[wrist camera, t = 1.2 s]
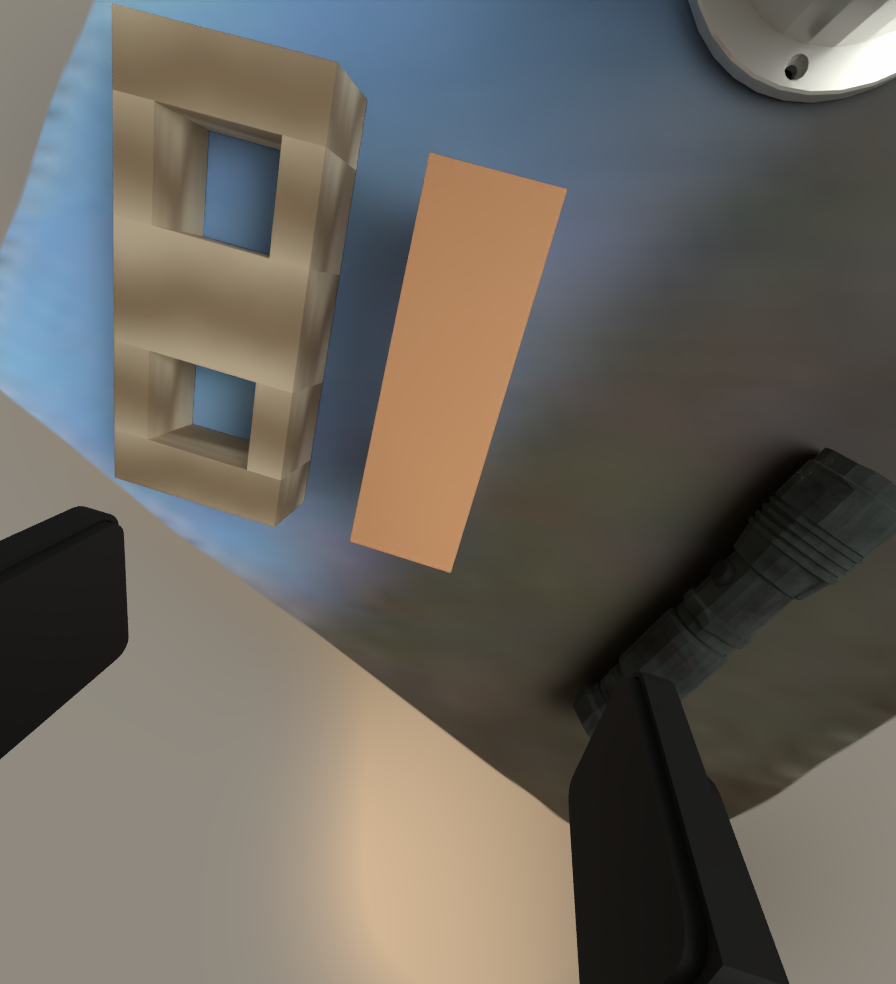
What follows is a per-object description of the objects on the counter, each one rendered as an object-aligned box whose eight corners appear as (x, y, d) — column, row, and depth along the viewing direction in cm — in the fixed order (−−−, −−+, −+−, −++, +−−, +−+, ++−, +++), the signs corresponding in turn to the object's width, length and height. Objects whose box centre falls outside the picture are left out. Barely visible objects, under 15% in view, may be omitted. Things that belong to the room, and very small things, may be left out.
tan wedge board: (459, 198, 25) (429, 152, 17) (556, 224, 24) (567, 189, 17) (393, 484, 31) (349, 541, 23) (470, 508, 30) (450, 572, 23)
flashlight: (878, 485, 27) (951, 523, 22) (623, 713, 34) (638, 776, 30) (805, 434, 26) (865, 462, 22) (565, 675, 34) (571, 734, 29)
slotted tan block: (175, 49, 24) (111, 3, 21) (367, 100, 24) (337, 62, 20) (162, 458, 33) (114, 477, 29) (303, 501, 32) (274, 527, 28)
